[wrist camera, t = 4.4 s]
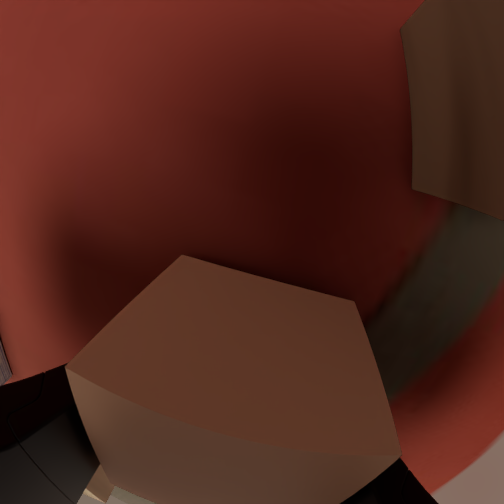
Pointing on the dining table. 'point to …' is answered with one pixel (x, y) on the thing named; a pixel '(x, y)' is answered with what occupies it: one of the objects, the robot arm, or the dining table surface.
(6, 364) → the medicine box
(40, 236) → the dining table surface
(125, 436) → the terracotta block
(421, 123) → the walnut block
